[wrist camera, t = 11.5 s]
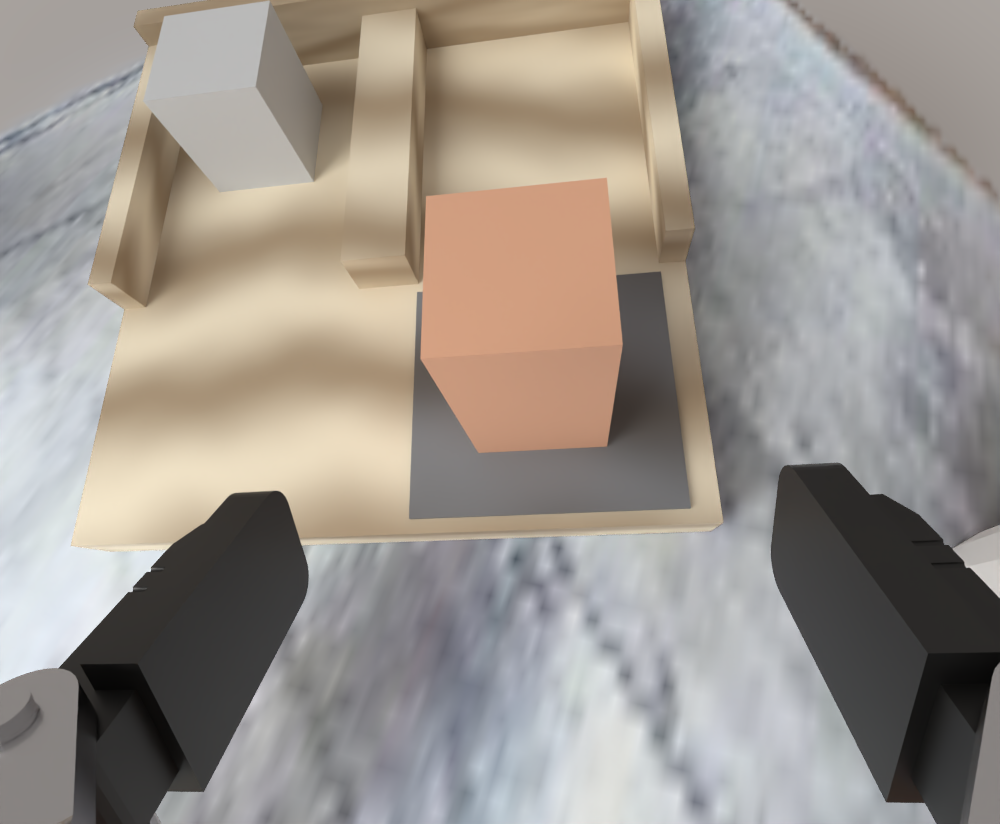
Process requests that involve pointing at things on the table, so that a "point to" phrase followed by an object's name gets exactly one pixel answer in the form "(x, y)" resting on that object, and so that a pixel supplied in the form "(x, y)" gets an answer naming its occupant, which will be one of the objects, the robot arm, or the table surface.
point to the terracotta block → (523, 313)
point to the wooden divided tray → (394, 288)
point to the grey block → (236, 97)
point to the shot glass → (983, 556)
